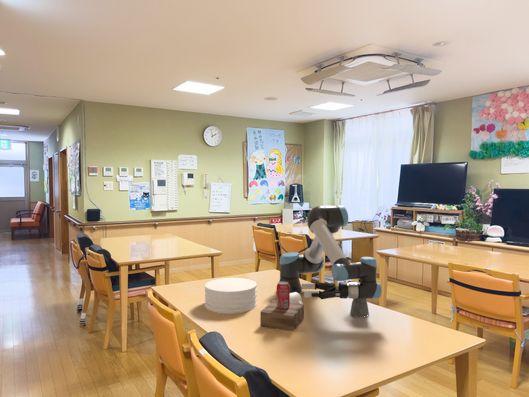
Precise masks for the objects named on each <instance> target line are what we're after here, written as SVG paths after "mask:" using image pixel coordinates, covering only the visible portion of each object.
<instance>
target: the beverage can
mask: <svg viewBox="0 0 529 397" xmlns="http://www.w3.org/2000/svg"><path fill="white" fill-rule="evenodd" d="M276 301H277V307H278V308H280V309H287V308H288V307H289V306H290V286H289V284H288V282H284V281H281V282H279V281H278V282H277V284H276Z"/></svg>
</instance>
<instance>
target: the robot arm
mask: <svg viewBox="0 0 529 397" xmlns="http://www.w3.org/2000/svg"><path fill="white" fill-rule="evenodd" d="M348 222H349V214H348V211H347V208H346V207H345V206H343V205H339V204H335V205H334V204H333V205H318V206H314V207H313V208H311V210H309V212H308V214H307V219H306V223H307V227H308V229H309V231H310V232H311V233H312V234H314V238H313V240H312V242H311V245H310V247H308V248H306V250H304V253H303V254H300V253H299V252H297V251H290V252H285V253H283V254H281V255H280V257H279V258H280V259H279V280H278V282H281V281H284V282H288V284H289V286H290V293H293V292H297V293H299V295H301V294H302V292H303V298H309V299H310V298H311V299H312V298H317V299H320V300H326V299H333V298H339V299H348V298H349V299H352V300H353V299H355V298H363V299H367V300H368V299H370V300H373V299H376V300H377V299H380V298H381V296H382V292H383V290H382V284H381V283H380V282H377V271H378V270H377V269H378V264H377V259H376V258H375V257H372V256H362V257H360V258H359V259H360V260H359V262H349V260H348V258H347V257H346V255H345V254H344V252H343V250H342V249H341V246H339V244H338V242H337V240H336V239H335V236H334V234H335V233H338V232H339V231H340V229H341V227H346V226H348ZM324 253H325V255H326V256H327V258H328V260H329V262H330V263H331V265H332V266H331V270H330V273H331V276H332V278H333V279H334V280H335V281H338V285H336V284H335V283H328V282H327V283H325V282H319V281H315V282H314V283H313V282H312V283H311V282H309V283H306V282H302V283H301V281H300V274H309V273H310V274H311V273H312V274H313V273H318V272H320V271H322V270H323V268H324V263H325V259H324V255H323V254H324ZM358 279H360V282H359V281H353V282H348V281H351V280H358ZM341 281H343V282H341ZM346 281H347V282H348V283H347V282H346ZM310 290H311V291H310ZM316 290H317V291H316Z"/></svg>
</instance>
